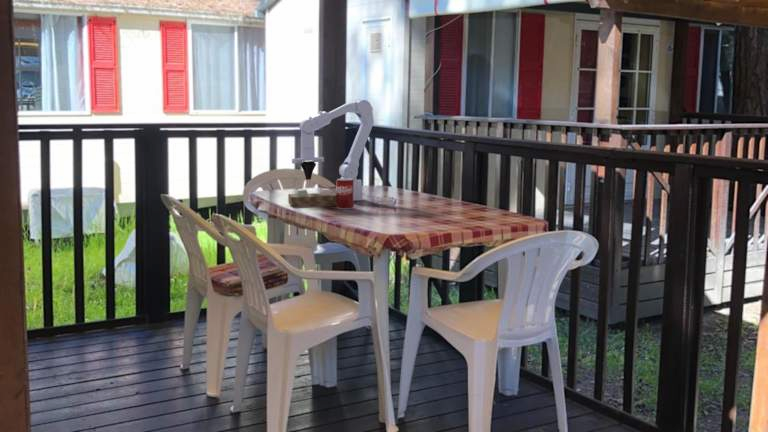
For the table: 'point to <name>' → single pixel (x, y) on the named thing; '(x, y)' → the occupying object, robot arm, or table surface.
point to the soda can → (345, 193)
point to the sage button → (301, 192)
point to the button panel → (312, 200)
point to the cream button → (324, 192)
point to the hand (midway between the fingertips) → (308, 179)
